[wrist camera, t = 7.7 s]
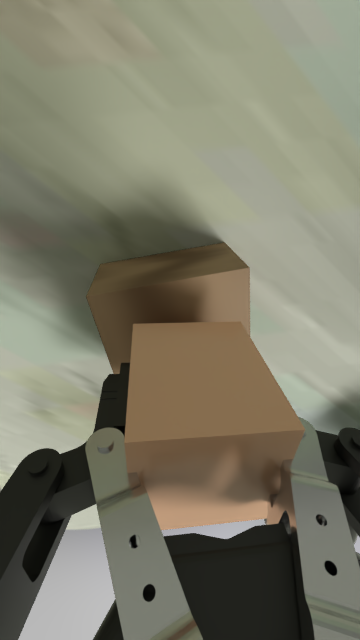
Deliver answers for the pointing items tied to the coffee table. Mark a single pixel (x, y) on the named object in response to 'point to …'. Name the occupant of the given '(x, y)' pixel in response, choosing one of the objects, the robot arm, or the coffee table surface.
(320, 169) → the coffee table surface
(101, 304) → the walnut box
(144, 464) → the tan block
